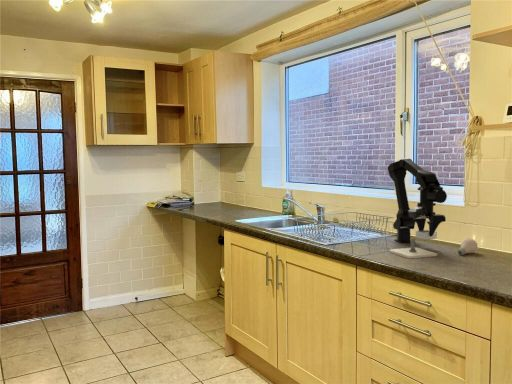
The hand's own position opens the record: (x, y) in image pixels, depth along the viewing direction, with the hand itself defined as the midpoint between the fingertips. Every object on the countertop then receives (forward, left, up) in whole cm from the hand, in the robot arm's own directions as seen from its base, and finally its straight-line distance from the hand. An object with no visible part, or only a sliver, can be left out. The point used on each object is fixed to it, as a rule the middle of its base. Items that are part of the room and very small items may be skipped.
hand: (426, 235), depth 209 cm
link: (0, 0, -1) cm, 1 cm away
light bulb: (+15, +9, -7) cm, 19 cm away
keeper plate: (+7, -12, -6) cm, 15 cm away
